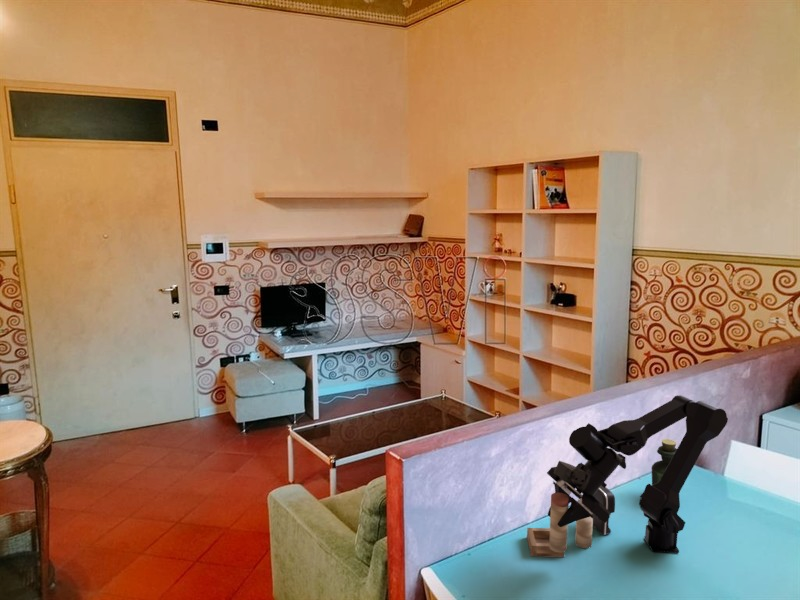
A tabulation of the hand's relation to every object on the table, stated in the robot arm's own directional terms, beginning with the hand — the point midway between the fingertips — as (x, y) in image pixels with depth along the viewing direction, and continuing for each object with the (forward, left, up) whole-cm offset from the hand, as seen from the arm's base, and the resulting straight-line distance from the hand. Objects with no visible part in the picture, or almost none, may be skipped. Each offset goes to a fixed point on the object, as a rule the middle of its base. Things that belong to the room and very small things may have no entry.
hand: (553, 520), depth 137 cm
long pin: (-1, -1, -7) cm, 7 cm away
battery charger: (-16, -19, -13) cm, 28 cm away
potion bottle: (-38, -35, -13) cm, 53 cm away
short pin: (-10, -11, -13) cm, 19 cm away
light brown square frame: (0, -9, -13) cm, 16 cm away
